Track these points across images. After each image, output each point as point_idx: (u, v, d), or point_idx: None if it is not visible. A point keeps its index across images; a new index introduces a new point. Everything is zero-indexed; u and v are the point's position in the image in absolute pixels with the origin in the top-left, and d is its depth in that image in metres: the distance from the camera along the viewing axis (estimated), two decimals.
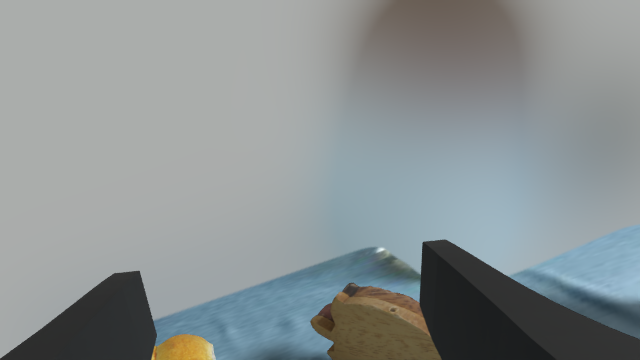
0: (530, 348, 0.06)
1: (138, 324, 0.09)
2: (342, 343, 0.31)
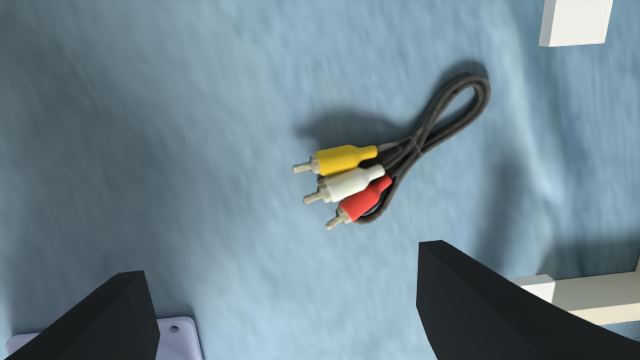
0: (525, 349, 0.06)
1: (142, 324, 0.09)
2: None
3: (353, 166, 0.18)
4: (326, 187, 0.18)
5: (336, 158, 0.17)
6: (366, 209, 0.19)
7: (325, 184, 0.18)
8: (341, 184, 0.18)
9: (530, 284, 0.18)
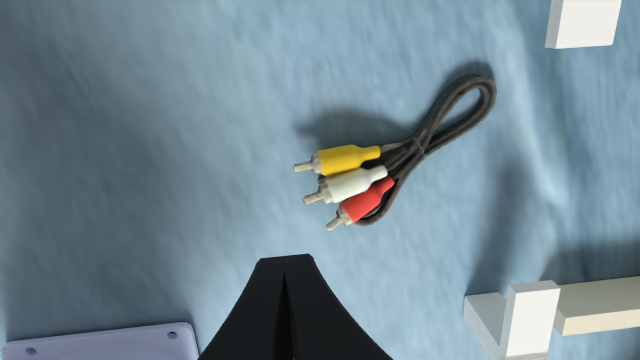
0: None
1: None
2: None
3: (355, 166, 0.17)
4: (327, 187, 0.17)
5: (338, 158, 0.17)
6: (367, 211, 0.18)
7: (326, 184, 0.17)
8: (343, 185, 0.17)
9: (535, 290, 0.17)
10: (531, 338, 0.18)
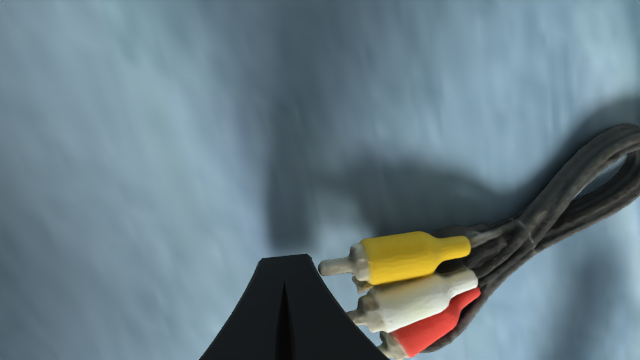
0: None
1: None
2: None
3: (427, 273, 0.10)
4: (377, 309, 0.10)
5: (401, 259, 0.10)
6: (435, 340, 0.11)
7: (376, 303, 0.10)
8: (406, 307, 0.10)
9: None
10: None
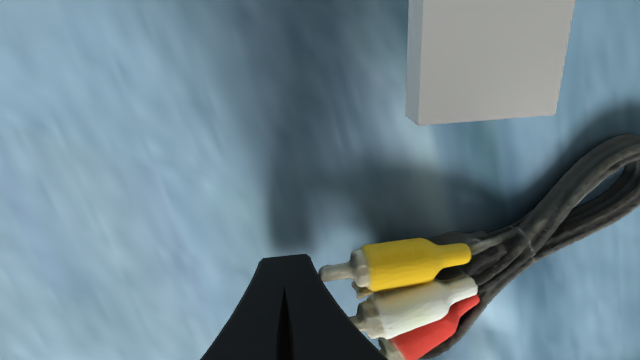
0: None
1: None
2: None
3: (428, 280, 0.10)
4: (377, 315, 0.10)
5: (402, 266, 0.10)
6: (434, 347, 0.11)
7: (376, 309, 0.10)
8: (406, 314, 0.10)
9: None
10: None
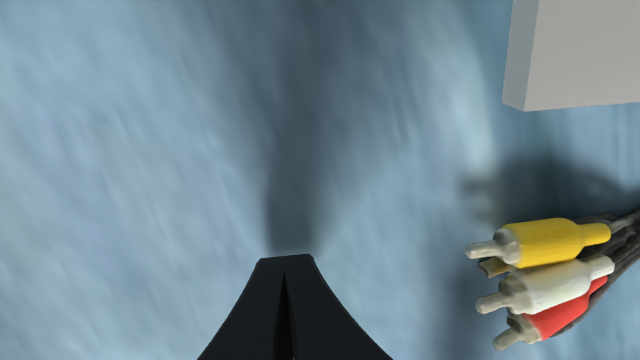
0: None
1: None
2: None
3: (571, 258, 0.10)
4: (526, 291, 0.10)
5: (551, 243, 0.10)
6: (566, 324, 0.11)
7: (523, 285, 0.10)
8: (553, 290, 0.10)
9: None
10: None
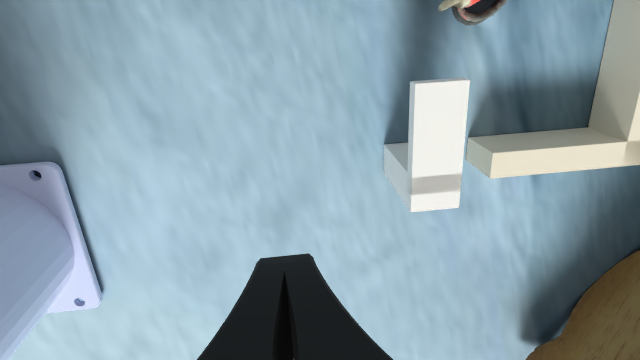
0: None
1: None
2: None
3: None
4: None
5: None
6: None
7: None
8: None
9: (439, 81, 0.14)
10: (440, 152, 0.15)
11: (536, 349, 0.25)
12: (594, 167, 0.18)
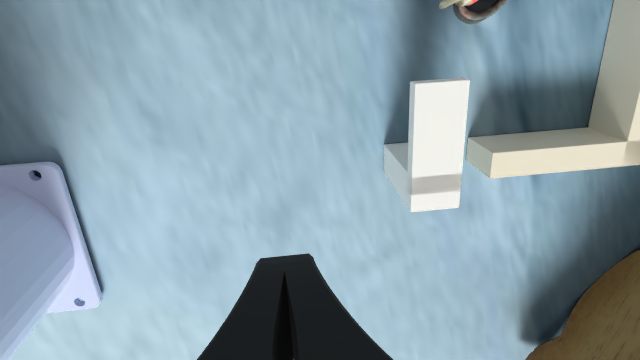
0: None
1: None
2: None
3: None
4: None
5: None
6: None
7: None
8: None
9: (439, 81, 0.14)
10: (440, 152, 0.15)
11: (536, 349, 0.25)
12: (594, 167, 0.18)
